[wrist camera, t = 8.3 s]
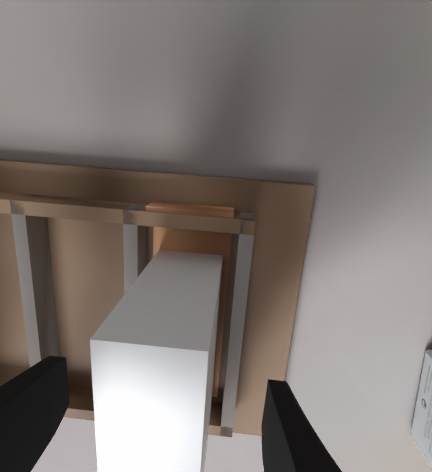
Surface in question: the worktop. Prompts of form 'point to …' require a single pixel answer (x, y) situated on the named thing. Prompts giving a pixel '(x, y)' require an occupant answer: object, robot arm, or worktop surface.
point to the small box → (424, 410)
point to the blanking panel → (158, 367)
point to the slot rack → (134, 262)
